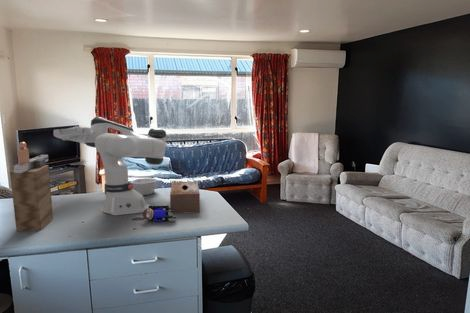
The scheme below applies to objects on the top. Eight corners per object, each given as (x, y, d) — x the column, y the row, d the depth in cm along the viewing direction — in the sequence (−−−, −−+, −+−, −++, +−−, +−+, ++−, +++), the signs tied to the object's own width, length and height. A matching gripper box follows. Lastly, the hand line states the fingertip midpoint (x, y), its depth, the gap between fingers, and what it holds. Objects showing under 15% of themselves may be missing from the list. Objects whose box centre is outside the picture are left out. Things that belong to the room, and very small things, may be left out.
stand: (53, 218, 163) (47, 158, 158) (41, 230, 149) (35, 164, 145) (30, 220, 162) (24, 159, 157) (16, 231, 148) (9, 164, 143)
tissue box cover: (199, 212, 173) (199, 193, 172) (170, 214, 171) (170, 194, 170) (197, 198, 198) (197, 181, 197) (172, 199, 196) (171, 182, 195)
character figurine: (175, 224, 158) (142, 224, 158) (177, 217, 165) (146, 217, 165) (174, 208, 156) (140, 208, 156) (176, 202, 163) (144, 202, 163)
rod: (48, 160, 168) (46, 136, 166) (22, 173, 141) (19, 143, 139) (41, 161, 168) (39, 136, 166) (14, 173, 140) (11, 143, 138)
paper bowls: (135, 190, 215) (134, 177, 214) (159, 189, 215) (159, 177, 214) (128, 197, 200) (128, 183, 199) (155, 196, 200) (154, 183, 199)
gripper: (96, 138, 203) (87, 134, 189) (60, 140, 201) (49, 137, 188) (95, 127, 203) (86, 123, 189) (60, 129, 202) (48, 125, 188)
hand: (67, 130), depth 189 cm, fingers open, 8 cm apart
